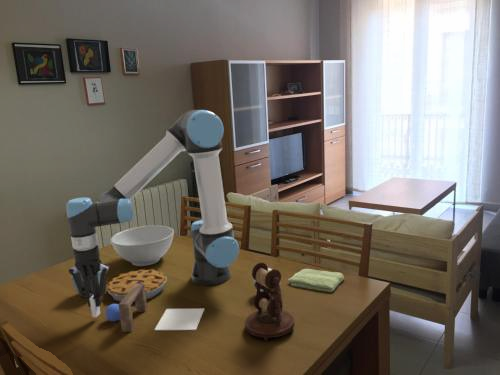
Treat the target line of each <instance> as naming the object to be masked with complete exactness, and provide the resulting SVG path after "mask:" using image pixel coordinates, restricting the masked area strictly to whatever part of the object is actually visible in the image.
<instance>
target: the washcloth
mask: <svg viewBox="0 0 500 375" xmlns="http://www.w3.org/2000/svg"><path fill="white" fill-rule="evenodd" d="M344 280H345V276H344V275H343V273H341V272H339V271H338V272H334V271H333V272H332V271H328V270H316V269H312V268H303V269H301V270H300V271H299V272H296V273H294V274H293V276H292V277H289V278H288V280H287V282H288V283H289V284H290V286H291V287H296V288H303V289H308V290H315V291H322V292H326V293H327V292H328V293H332V292H334V291H335V289H336V288H337V287H338V285H339V284H341V283H342V282H343V281H344Z"/></svg>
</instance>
